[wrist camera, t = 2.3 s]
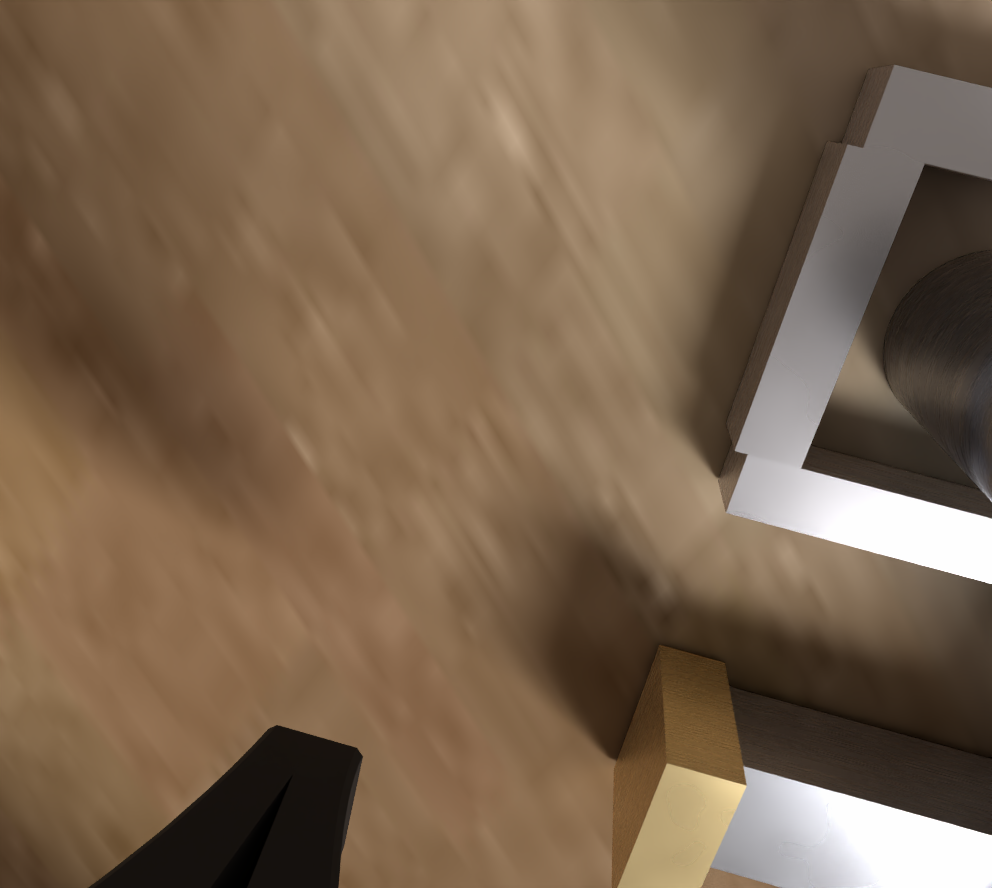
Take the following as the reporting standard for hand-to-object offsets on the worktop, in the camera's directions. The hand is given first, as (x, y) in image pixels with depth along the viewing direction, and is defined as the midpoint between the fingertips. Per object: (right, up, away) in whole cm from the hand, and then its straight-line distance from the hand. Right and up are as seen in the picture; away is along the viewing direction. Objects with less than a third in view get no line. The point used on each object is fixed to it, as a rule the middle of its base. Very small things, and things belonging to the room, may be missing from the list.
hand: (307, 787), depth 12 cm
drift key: (+10, -1, +3) cm, 10 cm away
